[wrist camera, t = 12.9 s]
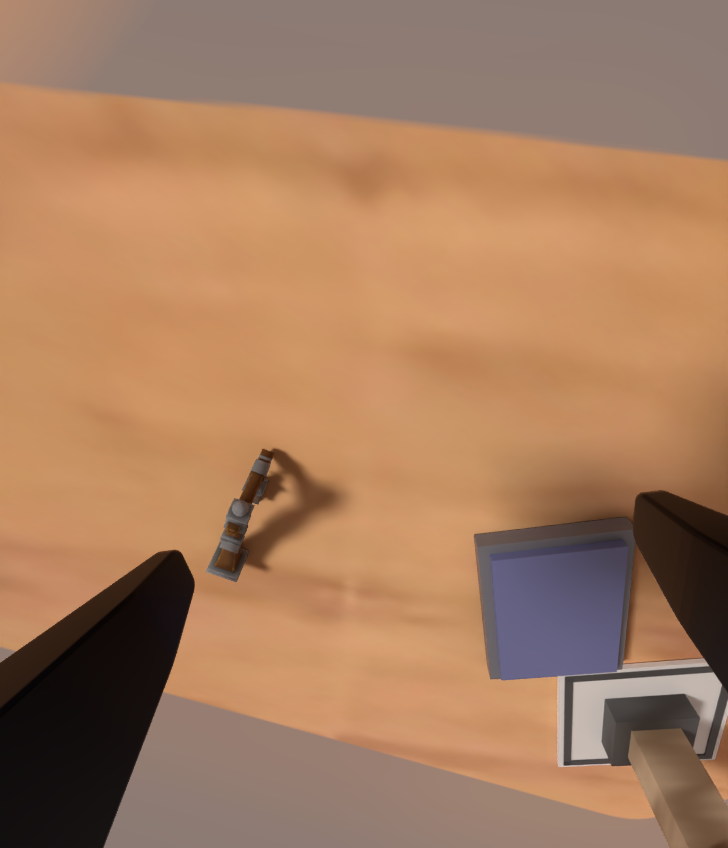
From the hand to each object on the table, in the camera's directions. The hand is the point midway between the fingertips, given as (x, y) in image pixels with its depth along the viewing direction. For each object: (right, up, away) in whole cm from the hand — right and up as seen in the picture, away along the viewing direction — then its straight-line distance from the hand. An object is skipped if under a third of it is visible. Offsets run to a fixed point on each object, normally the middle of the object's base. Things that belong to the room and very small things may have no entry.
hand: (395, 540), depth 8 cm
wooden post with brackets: (-7, -2, +15) cm, 17 cm away
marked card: (+19, -18, +21) cm, 33 cm away
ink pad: (+10, -8, +16) cm, 21 cm away
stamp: (+19, -18, +20) cm, 33 cm away
